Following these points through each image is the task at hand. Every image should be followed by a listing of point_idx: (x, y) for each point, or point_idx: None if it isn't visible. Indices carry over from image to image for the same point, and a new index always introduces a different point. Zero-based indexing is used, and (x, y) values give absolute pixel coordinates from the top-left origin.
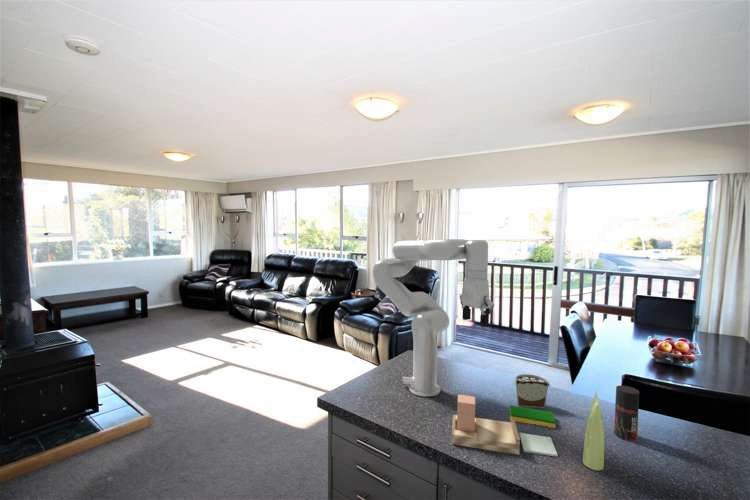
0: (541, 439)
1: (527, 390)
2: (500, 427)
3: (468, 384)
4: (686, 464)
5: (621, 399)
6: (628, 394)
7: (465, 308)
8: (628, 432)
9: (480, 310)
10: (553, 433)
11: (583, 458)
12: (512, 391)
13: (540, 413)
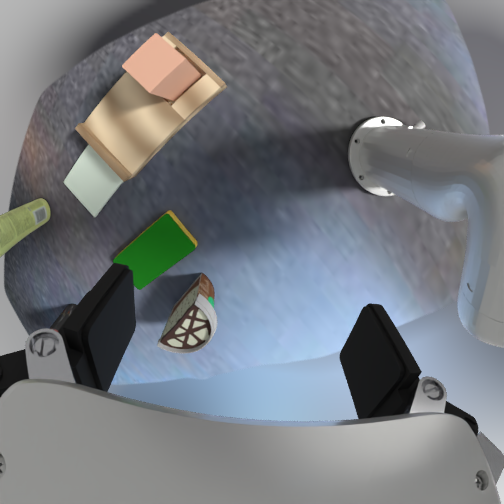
0: (95, 196)
1: (185, 305)
2: (129, 138)
3: (336, 267)
4: (31, 302)
5: None
6: None
7: (399, 395)
8: (62, 312)
9: (70, 380)
10: (106, 237)
11: (42, 203)
12: (253, 316)
13: (143, 268)
